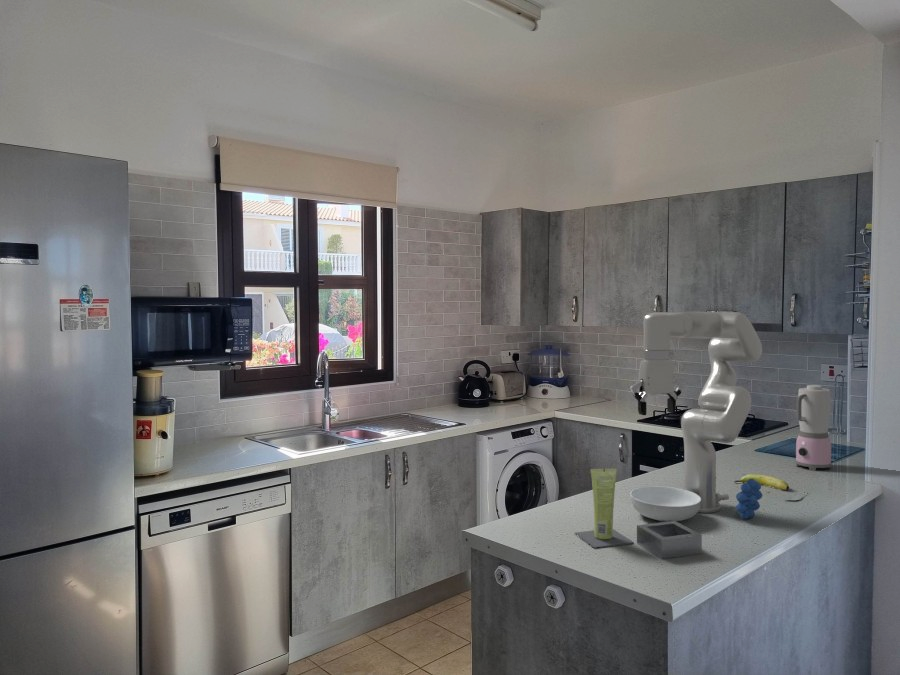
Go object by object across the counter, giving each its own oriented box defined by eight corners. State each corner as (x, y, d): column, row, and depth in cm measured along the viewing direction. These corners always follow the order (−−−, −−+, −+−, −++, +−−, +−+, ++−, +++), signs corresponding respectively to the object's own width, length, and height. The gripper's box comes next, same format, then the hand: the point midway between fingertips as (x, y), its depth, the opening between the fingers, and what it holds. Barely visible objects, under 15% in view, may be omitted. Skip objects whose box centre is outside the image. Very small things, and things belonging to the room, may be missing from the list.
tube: (601, 532, 194) (601, 465, 193) (617, 536, 191) (617, 468, 190) (590, 537, 190) (590, 469, 189) (606, 541, 187) (606, 472, 186)
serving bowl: (654, 532, 195) (654, 508, 195) (617, 510, 215) (617, 489, 215) (716, 524, 201) (716, 501, 200) (674, 504, 221) (674, 483, 220)
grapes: (746, 510, 213) (746, 473, 212) (767, 516, 207) (767, 477, 206) (725, 518, 206) (725, 479, 205) (745, 524, 200) (746, 484, 200)
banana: (830, 489, 236) (830, 479, 236) (796, 506, 218) (797, 494, 218) (733, 471, 262) (733, 461, 262) (696, 485, 245) (696, 474, 244)
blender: (810, 461, 273) (811, 383, 271) (838, 468, 262) (839, 386, 260) (782, 466, 266) (783, 385, 264) (810, 473, 255) (812, 389, 253)
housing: (674, 538, 190) (674, 520, 189) (701, 553, 178) (701, 535, 178) (636, 543, 186) (636, 525, 186) (661, 559, 175) (661, 540, 174)
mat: (611, 529, 198) (611, 528, 198) (633, 543, 186) (633, 542, 186) (574, 534, 194) (574, 532, 194) (594, 548, 183) (594, 547, 183)
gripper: (675, 353, 205) (675, 409, 206) (624, 356, 200) (624, 413, 201) (690, 355, 197) (690, 413, 198) (637, 358, 193) (637, 417, 194)
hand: (657, 413), depth 200 cm, fingers open, 9 cm apart
